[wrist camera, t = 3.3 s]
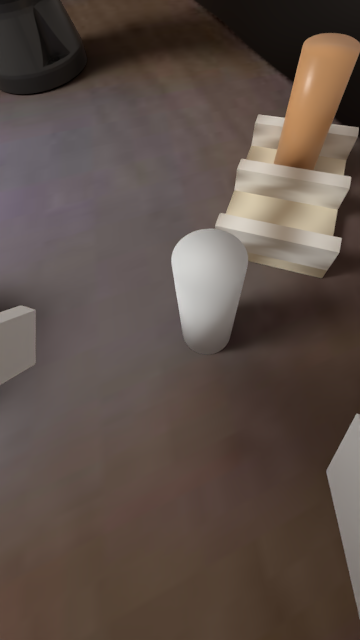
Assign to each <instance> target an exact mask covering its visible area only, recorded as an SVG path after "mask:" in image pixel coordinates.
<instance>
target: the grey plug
mask: <svg viewBox="0 0 360 640" xmlns="http://www.w3.org/2000/svg"><path fill="white" fill-rule="evenodd" d="M171 261H172V269H173V275H174V282H175V288H176V294H177V301H178V307H179V313H180V320H181V326H182V332H183V338H184V341H185V343H186V344H187V346H188V347H189V348H190V349H192V350H193V351H195V352H197V353H199V354H204V355H209V354H214V353H217V352H219V351H221V350H222V349H223V348H224V347H225V346H226V345H227V344H228V342H229V339H230V336H231V331H232V327H233V323H234V319H235V315H236V311H237V307H238V303H239V299H240V294H241V290H242V286H243V282H244V278H245V274H246V270H247V266H248V254H247V251H246V248H245V246H244V245H243V243H242V242H241V241H240V240H239V239H238V238H237V237H235V236H234V235H232V234H230V233H228V232H226V231H223V230H218V229H202V230H198V231H194V232H192V233H190V234H188V235H186V236H185V237H183V238H182V239H181V240H180V241H179V242H178V243H177V245H176V246H175V248H174V250H173V253H172V259H171Z"/></svg>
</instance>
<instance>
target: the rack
mask: <svg viewBox="0 0 360 640" xmlns="http://www.w3.org/2000/svg"><path fill="white" fill-rule="evenodd" d="M284 120H285V118H282V117H274V116H266V115H259V114H258V117H257V120H256V122H255V127H254V133H253V140H252V146H251V148H250V151H249V154H248V156H247V159H241V161H240V163H239V166H238V168H237V175H236V183H235V191H234V193H233V196H232V198H231V201H230V204H229V206H228V209H227V212H226V214H223V213H220V215H219V217H218V220H217V222H216V225H215V229H218V230H223V231H226V232H228V233H230V234H232V235H234V236H235V237H237V238H238V239H239V240H240V241H241V242H242V243H243V245H244V246H245V248H246V251H247V254H248V261H251V262H255V263H259V264H263V265H267V266H272V267H276V268H280V269H284V270H289V271H293V272H297V273H301V274H306V275H310V276H314V277H318V278H322V277H323V276H324V275H325V273H326V272H327V270H328V269H329V267H330V266H331V264H332V263H333V261H334V260H335V258H336V257H337V256H338V254H339V253H340V246H341V240H342V238H339V237H335V236H333V234H334V228H335V223H336V217H337V211H338V208H339V206H340V205H341V203H342V201H343V199H344V198H345V196H346V194H347V192H348V190H349V189H350V183H351V177H349V176H344V170H345V165H346V160H347V158H348V156H349V154H350V152H351V149H352V147H353V145H354V143H355V141H356V139H357V137H358V131H359V128H358V127H350V126H343V125H335V124H331V126H330V129H329V132H328V134H327V137H326V139H325V142H324V144H323V147H322V149H321V152H320V154H319V157H318V160H317V162H316V165H315V167H314V170H307V169H301V168H295V167H288V166H282V165H276V164H274V160H275V156H276V152H277V148H278V144H279V140H280V136H281V132H282V128H283V124H284Z"/></svg>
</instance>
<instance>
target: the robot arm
mask: <svg viewBox="0 0 360 640" xmlns="http://www.w3.org/2000/svg"><path fill="white" fill-rule="evenodd" d="M86 62H87V56H86V53H85V49H84V46H83V42H82V39H81V37H80V35H79V33H78V31H77V29H76V28H75V26H74V24H73V22H72V20H71V19H70V17H69V15H68V13H67V11H66V10H65V8H64V6H63V4H62V2H61V1H60V0H0V90H2V91H4V92H8V93H14V94H31V93H38V92H43V91H47V90H50V89H53V88H56V87H58V86H61V85H63V84H65V83H67V82H68V81H70V80H72V79H73V78H74V77H76V76H77V75H78V74H79V73H80V72H81V71H82V70H83V68H84V67H85V65H86ZM35 364H36V310H34V309H31V308H28V307H25V306H22V305H20V306H17V307H14V308H11V309H8V310H5V311H2V312H0V385H1V384H3V383H5V382H6V381H8V380H10V379H11V378H13V377H15V376H16V375H18V374H20V373H21V372H23V371H25V370H26V369H28V368H30V367H31V366H33V365H35ZM326 473H327V477H328V481H329V486H330V490H331V494H332V499H333V503H334V508H335V512H336V516H337V521H338V525H339V530H340V534H341V538H342V543H343V547H344V552H345V556H346V560H347V565H348V569H349V574H350V578H351V582H352V587H353V591H354V596H355V600H356V604H357V609H358V613H359V618H360V414H356V415H355V417H354V419H353V421H352V423H351V425H350V427H349V429H348V431H347V432H346V434H345V436H344V438H343V440H342V442H341V444H340V446H339V448H338V449H337V451H336V453H335V455H334V457H333V459H332V461H331V463H330V465H329V467H328V468H327V470H326Z"/></svg>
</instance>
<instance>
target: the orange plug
mask: <svg viewBox="0 0 360 640" xmlns="http://www.w3.org/2000/svg"><path fill="white" fill-rule="evenodd" d="M359 53H360V43H359V42H358V41H357V40H356V39H354V38H353V37H350V36H348V35H344V34H339V33H323V34H318V35H314V36H312V37H310V38H308V39H307V40H306V41H305V42H304V43H303V47H302V51H301V55H300V59H299V63H298V67H297V71H296V75H295V79H294V83H293V87H292V92H291V96H290V100H289V104H288V108H287V112H286V116H285V120H284V124H283V128H282V132H281V136H280V140H279V144H278V148H277V152H276V156H275V160H274V164H276V165H282V166H288V167H295V168H301V169H307V170H314V167H315V165H316V162H317V160H318V157H319V154H320V152H321V149H322V147H323V144H324V142H325V139H326V137H327V134H328V132H329V129H330V126H331V124H332V121H333V119H334V116H335V114H336V111H337V109H338V106H339V103H340V101H341V98H342V96H343V93H344V91H345V88H346V86H347V83H348V81H349V78H350V75H351V73H352V70H353V68H354V65H355V63H356V60H357V58H358V55H359Z"/></svg>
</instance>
